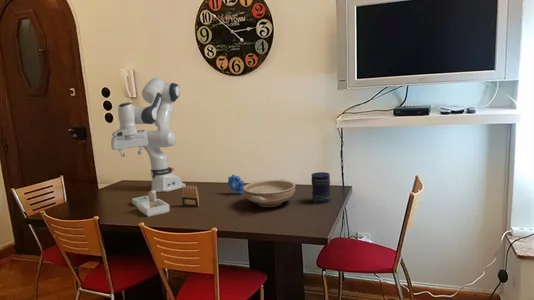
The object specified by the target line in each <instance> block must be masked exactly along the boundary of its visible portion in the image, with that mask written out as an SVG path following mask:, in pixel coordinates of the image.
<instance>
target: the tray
mask: <svg viewBox="0 0 534 300" xmlns="http://www.w3.org/2000/svg"><path fill="white" fill-rule="evenodd" d="M156 199H157V207H154V208H150V205H149V201H146V202H141V203H138V207H137V209H138V211H139V212H140V213H142V214H143V215H145V216H146V217H148V218H149V217H154V216H157V215H161V214H166V213H170V211H171V210H170V204H169V203H167V202H165V201H164V200H162V199H160V198H156Z"/></svg>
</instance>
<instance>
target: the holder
mask: <svg viewBox="0 0 534 300" xmlns="http://www.w3.org/2000/svg"><path fill="white" fill-rule="evenodd" d="M146 201H149V196H148V195H143V196H142V195H141V196H138V197H133V198H132V199H131V203H132V204H133V205H134V206H135V207H137V208H138V203H141V202H146Z"/></svg>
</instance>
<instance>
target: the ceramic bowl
mask: <svg viewBox="0 0 534 300" xmlns="http://www.w3.org/2000/svg"><path fill="white" fill-rule="evenodd" d="M243 186H244V187H243V190H242V191H243V195H244V197H245V198H246V199H247V200H248V201H249V202H252V203H254V204H258V206H260V207H263V208H274V207H279V206H281V205H282V204H283V202H284V203H285V202H286V201H288V200H290V199H291V198H292V197H293V196H294V195H295V192H296V183H295V182H293V181H291V180H286V179H283V178H280V179H263V180H257V181H252V182H250V183H248V184H245V185H243Z"/></svg>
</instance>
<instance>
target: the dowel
mask: <svg viewBox="0 0 534 300" xmlns="http://www.w3.org/2000/svg"><path fill="white" fill-rule="evenodd" d="M147 196H149V205H150V208H154V207H157V199H158V198H157V192H156V191H154V190H153V191H151V190H148V191H147Z"/></svg>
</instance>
